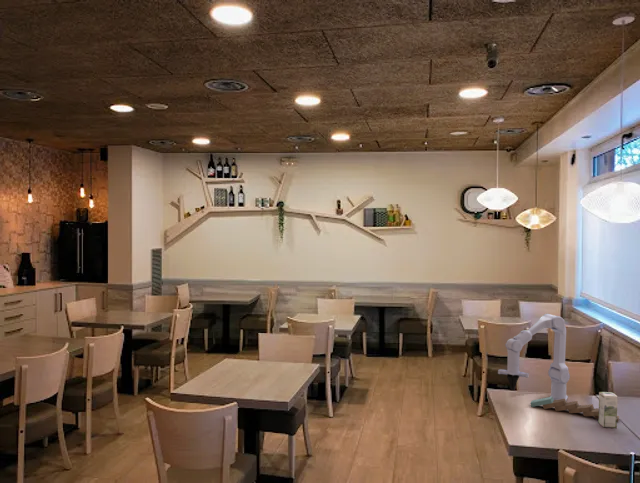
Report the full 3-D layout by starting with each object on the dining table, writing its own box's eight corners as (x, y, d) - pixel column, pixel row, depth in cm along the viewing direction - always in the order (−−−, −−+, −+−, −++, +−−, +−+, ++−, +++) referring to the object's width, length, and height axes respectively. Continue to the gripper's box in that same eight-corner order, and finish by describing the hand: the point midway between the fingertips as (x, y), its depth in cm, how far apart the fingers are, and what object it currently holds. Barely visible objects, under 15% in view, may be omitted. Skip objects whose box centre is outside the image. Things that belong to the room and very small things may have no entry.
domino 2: (544, 402, 268) (564, 398, 263) (545, 406, 268) (566, 402, 263) (542, 405, 264) (563, 400, 259) (544, 409, 264) (564, 405, 259)
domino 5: (586, 408, 257) (608, 407, 250) (588, 413, 257) (609, 412, 250) (582, 412, 254) (604, 411, 247) (584, 416, 254) (605, 415, 246)
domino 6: (594, 412, 256) (618, 416, 251) (594, 416, 256) (618, 420, 251) (593, 415, 252) (618, 419, 247) (593, 419, 252) (618, 423, 247)
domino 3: (556, 404, 265) (577, 400, 260) (557, 408, 265) (578, 405, 260) (554, 407, 261) (575, 403, 256) (555, 411, 261) (577, 407, 256)
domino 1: (532, 400, 271) (552, 396, 266) (533, 404, 271) (553, 400, 266) (530, 403, 267) (550, 399, 262) (531, 407, 267) (552, 403, 262)
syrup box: (611, 423, 245) (612, 391, 245) (617, 428, 239) (617, 395, 239) (598, 422, 245) (598, 391, 245) (603, 427, 240) (604, 395, 239)
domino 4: (571, 406, 262) (592, 404, 256) (572, 410, 262) (593, 408, 255) (568, 409, 258) (589, 407, 252) (569, 413, 258) (591, 411, 252)
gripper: (496, 362, 274) (496, 389, 274) (527, 366, 266) (526, 394, 266) (500, 359, 280) (499, 385, 280) (529, 363, 272) (529, 390, 272)
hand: (513, 389), depth 274 cm, fingers closed
